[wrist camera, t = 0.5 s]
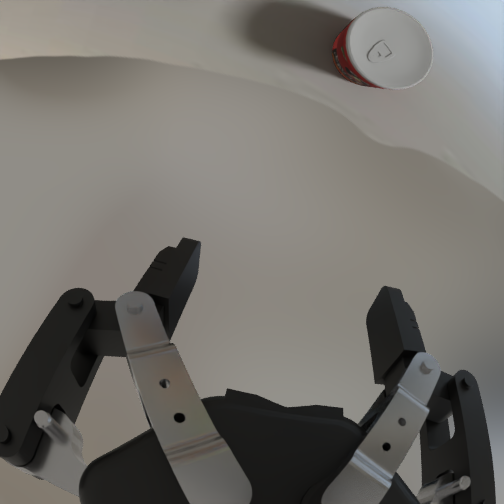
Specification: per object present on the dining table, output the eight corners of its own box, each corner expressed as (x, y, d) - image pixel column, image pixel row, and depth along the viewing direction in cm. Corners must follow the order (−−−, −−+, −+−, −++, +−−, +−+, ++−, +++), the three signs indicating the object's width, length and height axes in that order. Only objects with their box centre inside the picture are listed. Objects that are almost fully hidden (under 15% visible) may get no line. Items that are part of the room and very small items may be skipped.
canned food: (318, 59, 28) (328, 50, 19) (356, 13, 24) (380, -11, 15) (370, 99, 30) (400, 109, 21) (407, 55, 26) (448, 49, 17)
